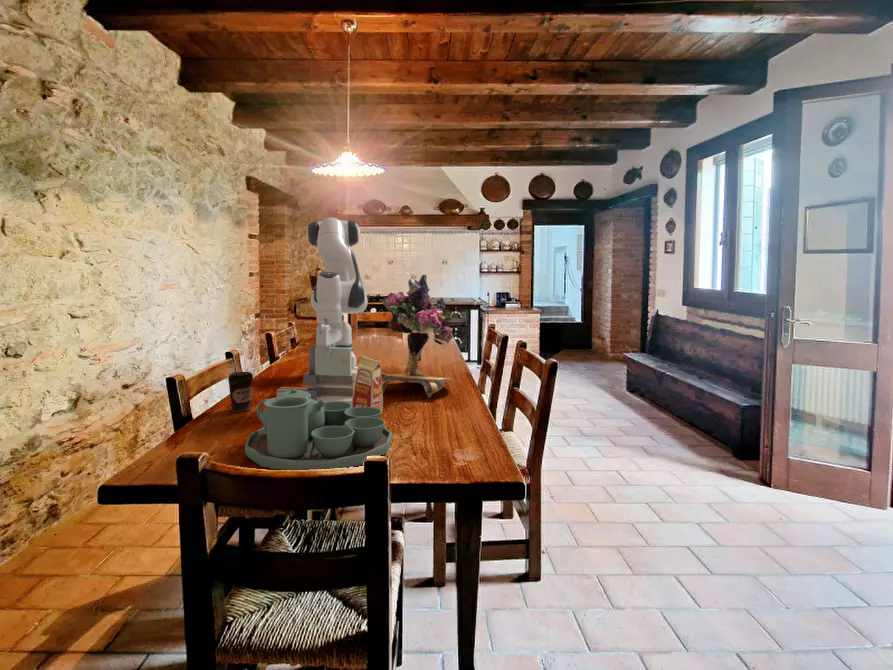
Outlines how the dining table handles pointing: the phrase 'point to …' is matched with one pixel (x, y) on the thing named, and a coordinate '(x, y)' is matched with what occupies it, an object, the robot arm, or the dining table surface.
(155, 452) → the dining table surface
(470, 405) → the dining table surface
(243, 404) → the coffee cup
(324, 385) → the cabinet
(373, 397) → the milk carton
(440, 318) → the flower vase arrangement
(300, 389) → the door rack
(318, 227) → the robot arm
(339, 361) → the door
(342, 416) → the tea set
